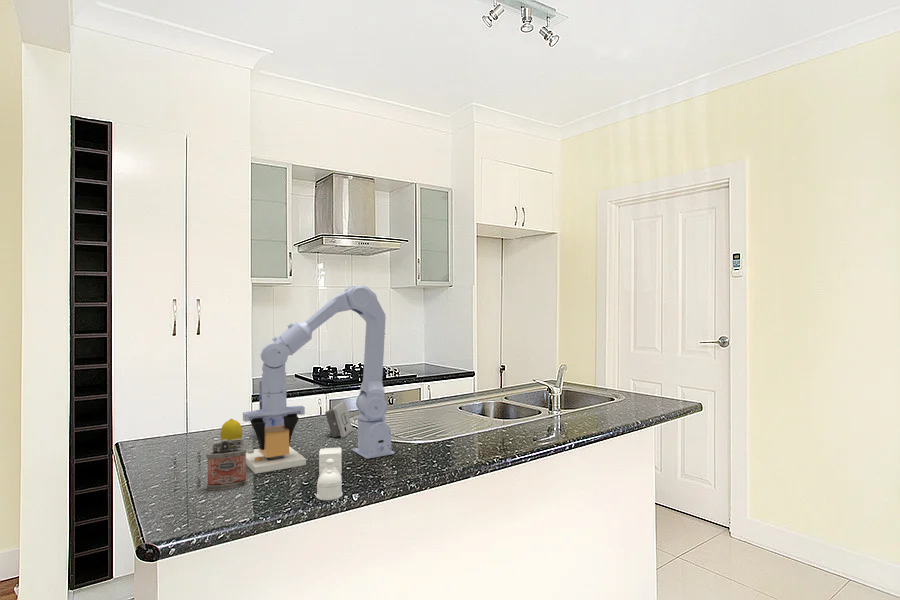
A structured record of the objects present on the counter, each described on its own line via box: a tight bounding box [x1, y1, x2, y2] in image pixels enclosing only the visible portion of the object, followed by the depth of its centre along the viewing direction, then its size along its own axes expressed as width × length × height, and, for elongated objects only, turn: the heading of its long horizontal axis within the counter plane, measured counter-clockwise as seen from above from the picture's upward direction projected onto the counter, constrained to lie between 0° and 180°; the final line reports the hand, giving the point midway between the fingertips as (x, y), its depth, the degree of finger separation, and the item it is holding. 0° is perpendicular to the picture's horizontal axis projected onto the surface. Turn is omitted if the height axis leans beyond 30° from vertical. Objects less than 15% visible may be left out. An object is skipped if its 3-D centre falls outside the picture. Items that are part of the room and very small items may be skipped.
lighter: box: [206, 438, 248, 491], centre depth 117 cm, size 8×3×10 cm, turn 114°
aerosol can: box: [258, 378, 284, 428], centre depth 161 cm, size 8×8×20 cm
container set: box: [315, 446, 343, 501], centre depth 118 cm, size 20×5×6 cm, turn 12°
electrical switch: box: [325, 401, 353, 439], centre depth 162 cm, size 9×5×9 cm, turn 174°
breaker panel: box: [246, 445, 307, 475], centre depth 135 cm, size 16×12×4 cm
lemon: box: [220, 418, 243, 449], centre depth 148 cm, size 6×6×8 cm
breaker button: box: [267, 455, 283, 461], centre depth 133 cm, size 3×3×3 cm
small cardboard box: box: [260, 425, 289, 458], centre depth 133 cm, size 6×6×6 cm
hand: (274, 446), depth 133 cm, fingers closed on small cardboard box, 5 cm apart
